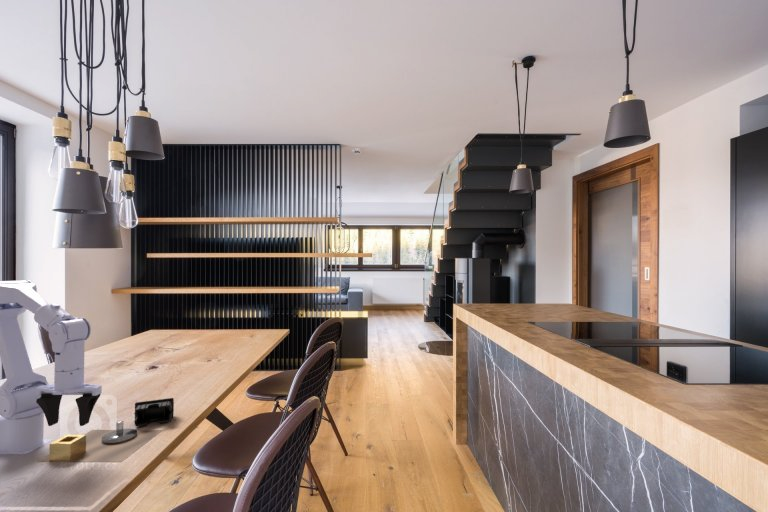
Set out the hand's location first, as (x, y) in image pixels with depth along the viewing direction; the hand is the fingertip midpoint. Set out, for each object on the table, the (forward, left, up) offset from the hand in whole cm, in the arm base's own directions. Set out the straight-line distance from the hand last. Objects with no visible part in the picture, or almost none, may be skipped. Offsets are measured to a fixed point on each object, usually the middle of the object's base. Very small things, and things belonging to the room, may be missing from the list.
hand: (68, 424), depth 97 cm
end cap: (+9, +21, -9) cm, 24 cm away
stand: (+6, +10, -8) cm, 14 cm away
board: (+5, +6, -8) cm, 11 cm away
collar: (0, 0, -8) cm, 8 cm away
